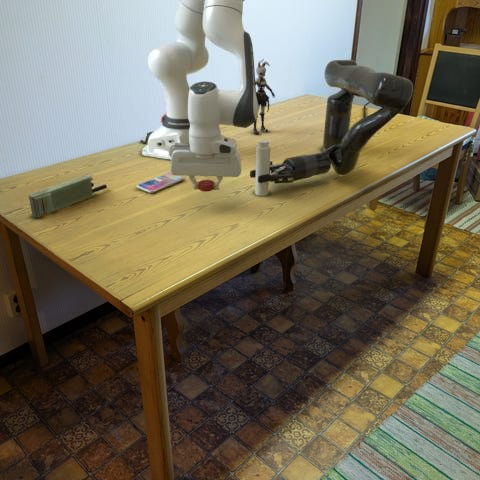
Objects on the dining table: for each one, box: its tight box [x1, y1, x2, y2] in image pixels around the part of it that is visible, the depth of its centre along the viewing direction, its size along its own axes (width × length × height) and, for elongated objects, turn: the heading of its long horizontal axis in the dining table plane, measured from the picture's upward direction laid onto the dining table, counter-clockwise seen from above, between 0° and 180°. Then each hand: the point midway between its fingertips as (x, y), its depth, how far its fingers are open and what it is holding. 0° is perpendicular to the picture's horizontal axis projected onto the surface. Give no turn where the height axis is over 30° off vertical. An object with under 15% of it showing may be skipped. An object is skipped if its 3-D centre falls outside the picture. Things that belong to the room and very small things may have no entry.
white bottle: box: [254, 139, 271, 197], centre depth 155 cm, size 4×4×17 cm
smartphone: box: [136, 172, 184, 194], centre depth 164 cm, size 7×1×15 cm
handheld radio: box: [28, 173, 108, 219], centre depth 150 cm, size 7×3×25 cm
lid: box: [198, 179, 215, 193], centre depth 147 cm, size 5×5×2 cm
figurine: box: [252, 58, 276, 135], centre depth 206 cm, size 15×6×30 cm, turn 132°
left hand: (206, 189), depth 148 cm, fingers closed on lid, 4 cm apart
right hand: (254, 177), depth 155 cm, fingers closed on white bottle, 4 cm apart
